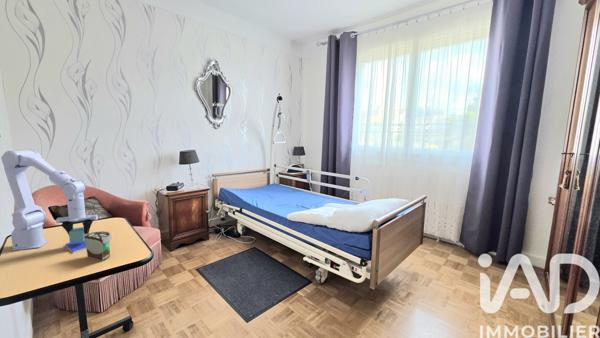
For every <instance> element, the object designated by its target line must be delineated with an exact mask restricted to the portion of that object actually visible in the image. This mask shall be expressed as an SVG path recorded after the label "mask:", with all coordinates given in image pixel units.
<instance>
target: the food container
mask: <svg viewBox="0 0 600 338" xmlns="http://www.w3.org/2000/svg"><path fill="white" fill-rule="evenodd" d="M84 239H85V244H86V250H85V251H86V255H87V258H88V259H89V258H90V259H93V260H96V261H101V262H105V261H106V260H108V259H109V258H110V255H111V252H110V251H111V240H112V239H113V237H112V234H111V233H110V232H109V231H103V230H102V231H93V232H89V233H88V234H84Z"/></svg>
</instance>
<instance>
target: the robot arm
mask: <svg viewBox="0 0 600 338" xmlns="http://www.w3.org/2000/svg"><path fill="white" fill-rule="evenodd" d="M0 159H1V162H2V165H3V167H4V172H5V176H6V179H7V181H8V184H9V188H10V190H11V193H12V196H13V199H14V202H15V205H16V210H15V211H13V212H12V214H11V217H12V222H11V223H12V226H13V227H14V229H13V230H11V234H10V237H11V246H12V249H11V251H19V250H21V251H22V250H28V249H29V250H30V249H37V248H41V247H42V246H44V245H45V244H47V243H48V242H50V239H45V235H44V227H43V225H45V222H46V221H47V214H46V212H45V211H44V210H43V208H42V206H39V205H37V204H35V201H34V197H33V195H32V191H31V188H30V186H29V182H28V178H27V176H26V174H25V172H26V170H28V168H30V167H34V168H35V169H37V170H38V171H40V172H42V173H44V174H45V175H46V176H48V179H49V181H50V182H51V183H53V184H54V185H57V186H58V187H59V188H60V189H61V191H62V193H63V194H64V197H65V199H66V203H67V213H68V216H63V217H57V218H56V219H55V220H56V221H55V222H56V224H60V223H61V227H62V228H63V229H64V231H66V233H67V235H68V236H69V231H71V230H72V229H73V228H74V222H82V221H83V222H82V227H84V232H85V234H88V233H90V229H91V226H92V224H93V222H94V221H97V220H98V219H99V216H98V214H86V205H85V197H84V192H86V191H87V185H86V183H85V182H84V181H83V180H81V179H79V180H78V179H75V178H74V177H72V176H71V175H69V174H67V172H66V171H65V170H57V169H55V168H54V167H53V166H52V165H51V164H49V162H47V161H46V160H45V159H43V158H42V154H41V153H39V152H38V151H36V150H34V149H25V150H24V149H22V150H7V151H5V152H4V153H3V154H2V156H1V157H0Z"/></svg>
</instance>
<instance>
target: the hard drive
mask: <svg viewBox="0 0 600 338" xmlns="http://www.w3.org/2000/svg"><path fill="white" fill-rule="evenodd" d="M64 245H65V247H66V248H67V249H68V250H69V251H70V252H71V253H72V254H76V253H79V252H83V251H87V250H86V244H85V240H84V241H81V242H70V241H69V242H66V243H65V244H64Z"/></svg>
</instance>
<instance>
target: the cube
mask: <svg viewBox="0 0 600 338" xmlns="http://www.w3.org/2000/svg"><path fill="white" fill-rule="evenodd" d="M84 234H85V232H84V226H82V227H73V229H72V230H71V231H69V235H68V238H69V243H70V242H81V241H84V240H85V239H84Z"/></svg>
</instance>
